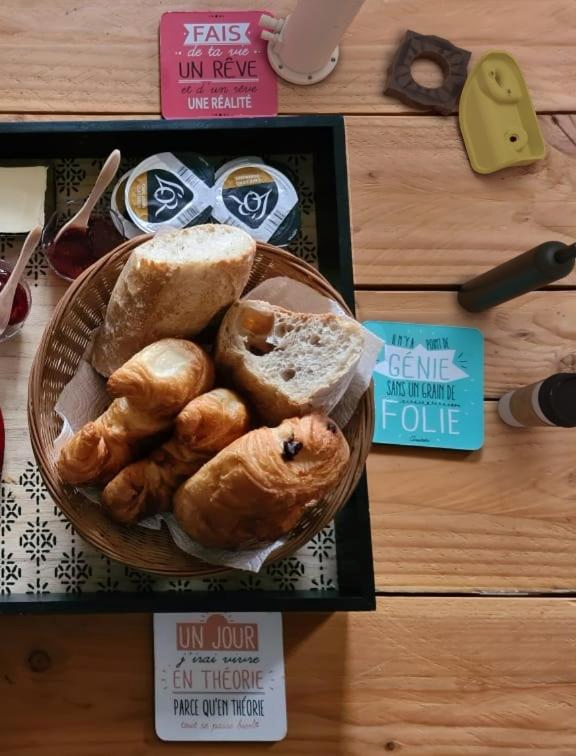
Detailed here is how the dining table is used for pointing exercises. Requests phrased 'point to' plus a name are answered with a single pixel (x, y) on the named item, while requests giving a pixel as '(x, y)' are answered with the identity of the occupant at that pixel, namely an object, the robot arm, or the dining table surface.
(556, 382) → the coffee cup
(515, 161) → the plastic component
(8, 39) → the dining table surface
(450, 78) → the brown square ring
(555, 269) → the wine bottle
